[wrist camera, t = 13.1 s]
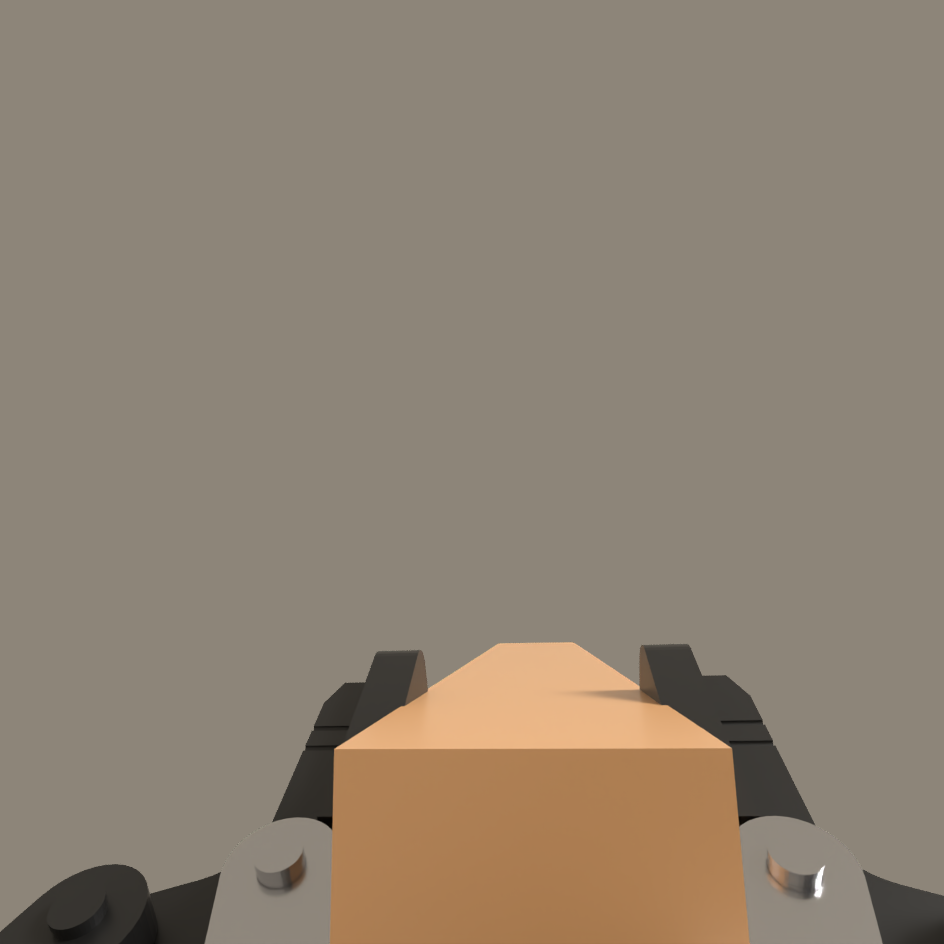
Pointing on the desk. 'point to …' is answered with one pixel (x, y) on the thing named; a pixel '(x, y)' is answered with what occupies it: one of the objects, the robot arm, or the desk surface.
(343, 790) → the light orange bar
